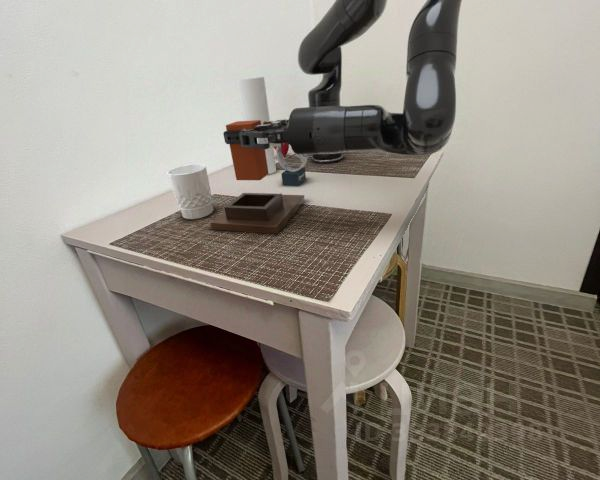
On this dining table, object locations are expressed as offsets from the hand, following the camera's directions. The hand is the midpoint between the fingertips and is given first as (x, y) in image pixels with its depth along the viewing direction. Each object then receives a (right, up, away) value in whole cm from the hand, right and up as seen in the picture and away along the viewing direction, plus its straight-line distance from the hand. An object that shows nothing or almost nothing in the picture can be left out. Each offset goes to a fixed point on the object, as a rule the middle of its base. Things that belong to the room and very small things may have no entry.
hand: (231, 134), depth 60 cm
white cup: (-10, -13, +13) cm, 21 cm away
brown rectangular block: (+3, -7, +3) cm, 8 cm away
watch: (+11, -4, +26) cm, 28 cm away
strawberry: (+6, +9, +52) cm, 53 cm away
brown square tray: (+4, -14, +8) cm, 17 cm away
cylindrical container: (+2, +1, +37) cm, 38 cm away
